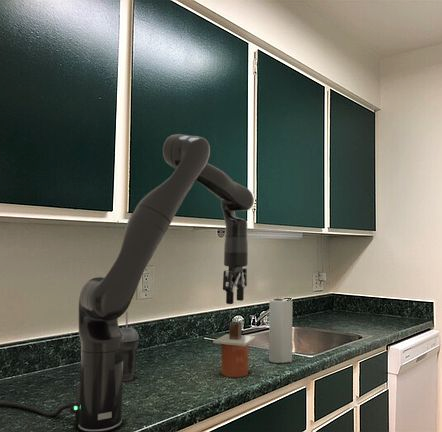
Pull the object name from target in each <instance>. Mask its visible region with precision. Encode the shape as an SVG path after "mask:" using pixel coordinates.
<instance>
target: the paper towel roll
mask: <svg viewBox="0 0 442 432" xmlns="http://www.w3.org/2000/svg"><path fill="white" fill-rule="evenodd" d="M293 301H294V300H287V299H285V298H271V299H269V313H268V315H269V319H268V320H269V323H268V329H269V330H268V361H269V362H271V363H275V364H284V363H292V362H293Z"/></svg>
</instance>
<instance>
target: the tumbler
mask: <svg viewBox="0 0 442 432" xmlns="http://www.w3.org/2000/svg"><path fill="white" fill-rule="evenodd" d="M220 349H221V351H220V353H221V355H220V374H221V375H222V376H224V377H228V378H241V377H245V376H248V374H249V365H250V361H249V358H250V355H249V354H250V343H249V344H248V345H246V346H237V345H227V344H221V347H220Z"/></svg>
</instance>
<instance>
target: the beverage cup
mask: <svg viewBox="0 0 442 432" xmlns="http://www.w3.org/2000/svg"><path fill="white" fill-rule="evenodd" d="M128 312H129V311H128V310H126V311H125V326H121V328H120V331H121V332H122V334H123V337H124V349H123V382H129V381H133V380H134V377H135V372H136V371H135V370H136V362H137V355H138V353H137V352H138V347H139V341H140V338H139V337H140V336H139V333H138V331H137V330H136V329H135V328H134V327H133V326H131V325H130V326H128V325H129V324H128V323H129V322H128V321H129V318H128V317H129V316H128V315H129V313H128Z"/></svg>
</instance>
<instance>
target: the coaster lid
mask: <svg viewBox="0 0 442 432" xmlns="http://www.w3.org/2000/svg"><path fill="white" fill-rule="evenodd" d="M242 325H243V324H242V321H231V322H229V333H226V334H224V335H222V336H220V337H218V338H216V339H214V340H213V341H212V342H213V344H218V345H222V344H227V345H237V346H246V345H248V344H249V345H250V344H251V343H253V342H254V341H255V340H257V336H254V335H253V336H252V335H242V332H243V331H242V330H243V326H242Z"/></svg>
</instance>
